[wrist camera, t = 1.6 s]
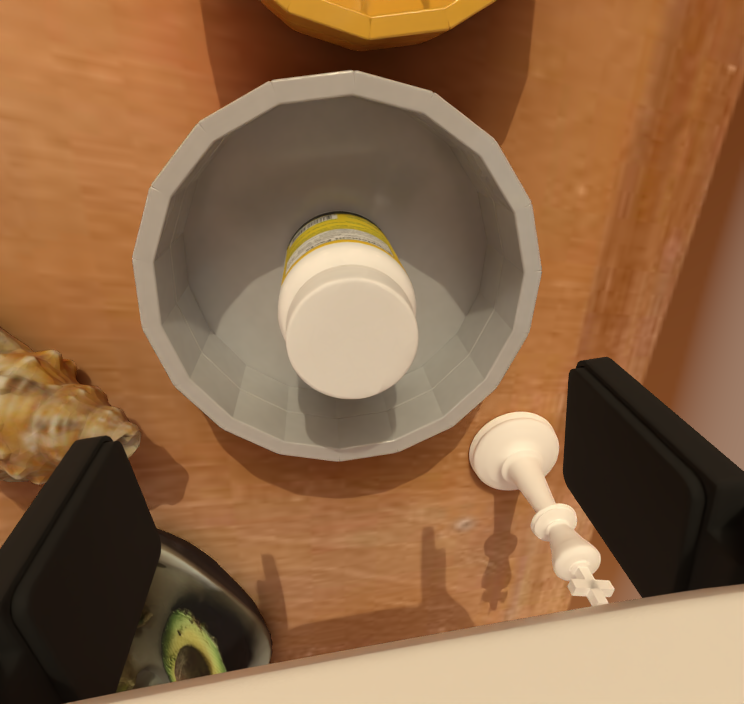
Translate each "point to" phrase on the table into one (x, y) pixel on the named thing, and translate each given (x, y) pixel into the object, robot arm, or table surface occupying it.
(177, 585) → the salad plate
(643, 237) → the table surface
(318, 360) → the supplement bottle
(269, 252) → the gray round dish
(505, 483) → the chess piece
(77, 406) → the seashell
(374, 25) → the yellow bowl
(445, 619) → the table surface
